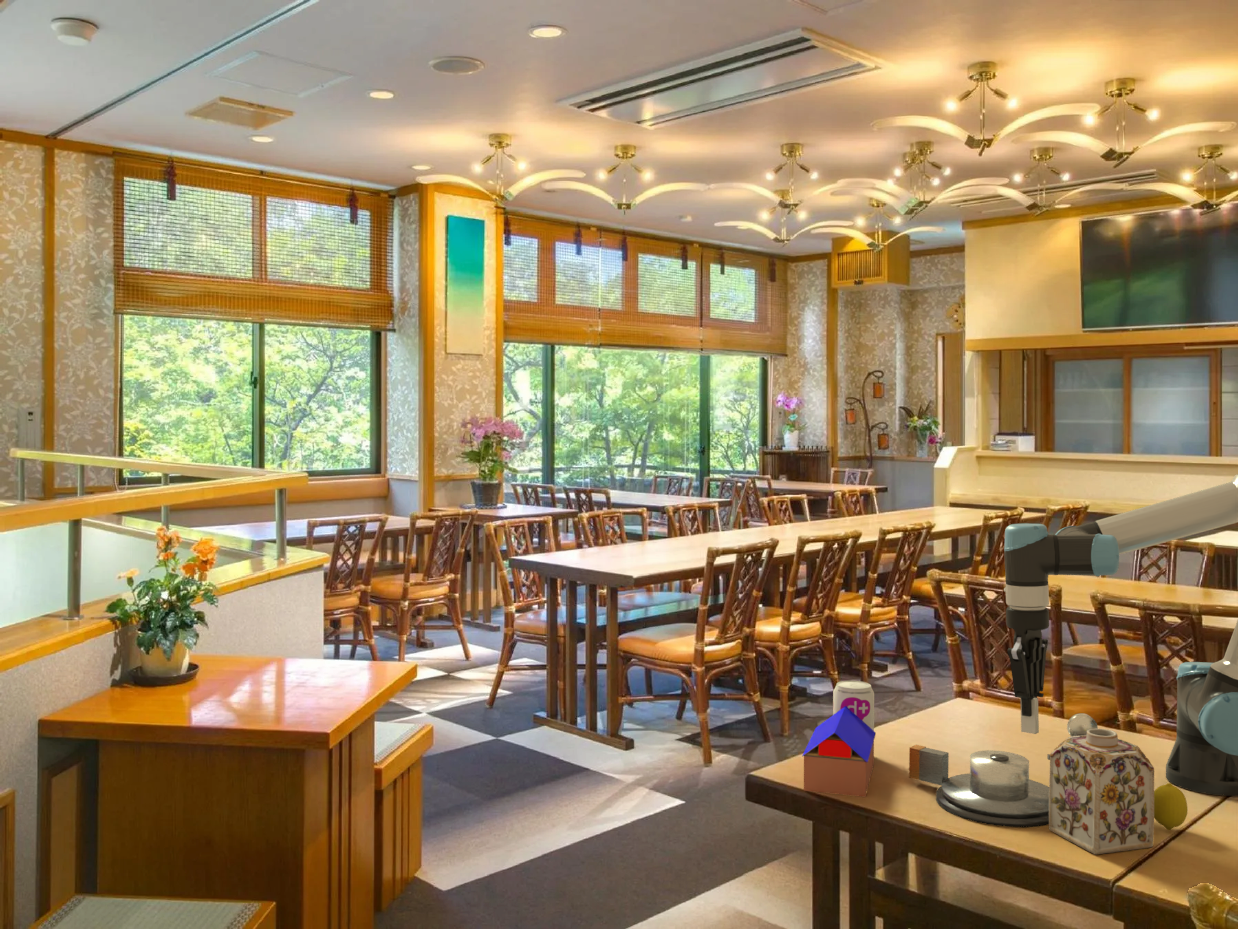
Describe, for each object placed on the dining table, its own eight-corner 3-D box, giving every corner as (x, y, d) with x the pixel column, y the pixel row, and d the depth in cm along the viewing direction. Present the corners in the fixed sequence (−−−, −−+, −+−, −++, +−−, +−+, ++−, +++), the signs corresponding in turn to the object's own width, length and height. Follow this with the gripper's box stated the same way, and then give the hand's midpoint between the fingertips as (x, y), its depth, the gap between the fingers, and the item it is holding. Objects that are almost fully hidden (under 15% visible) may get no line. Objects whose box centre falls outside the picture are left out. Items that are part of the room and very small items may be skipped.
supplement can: (874, 764, 217) (874, 690, 217) (832, 761, 219) (833, 688, 219) (873, 752, 225) (873, 681, 225) (832, 749, 227) (833, 679, 227)
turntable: (1076, 796, 195) (1077, 765, 194) (1031, 826, 180) (1031, 792, 180) (937, 764, 213) (937, 735, 213) (885, 789, 199) (886, 757, 199)
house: (875, 765, 217) (876, 708, 217) (867, 798, 198) (867, 735, 198) (815, 759, 221) (815, 703, 220) (801, 791, 202) (802, 730, 201)
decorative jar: (1155, 848, 174) (1157, 738, 174) (1095, 857, 171) (1097, 745, 170) (1103, 822, 186) (1104, 719, 185) (1045, 830, 182) (1047, 724, 182)
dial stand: (1091, 797, 198) (1092, 711, 197) (1099, 805, 194) (1100, 717, 193) (1043, 796, 198) (1045, 710, 198) (1051, 804, 194) (1052, 716, 194)
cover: (1037, 791, 194) (1038, 756, 194) (1014, 805, 187) (1015, 769, 187) (984, 779, 201) (984, 745, 201) (960, 792, 194) (960, 757, 193)
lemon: (1143, 824, 185) (1144, 778, 184) (1174, 823, 185) (1175, 777, 185) (1162, 837, 179) (1163, 789, 179) (1194, 835, 180) (1195, 788, 179)
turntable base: (1084, 804, 195) (1084, 798, 195) (1034, 837, 179) (1034, 831, 179) (969, 776, 210) (969, 771, 210) (913, 805, 194) (913, 799, 194)
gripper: (1022, 600, 208) (1024, 721, 209) (992, 609, 199) (995, 736, 200) (1061, 603, 203) (1063, 727, 204) (1032, 613, 194) (1035, 743, 194)
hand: (1030, 732), depth 202 cm, fingers closed
